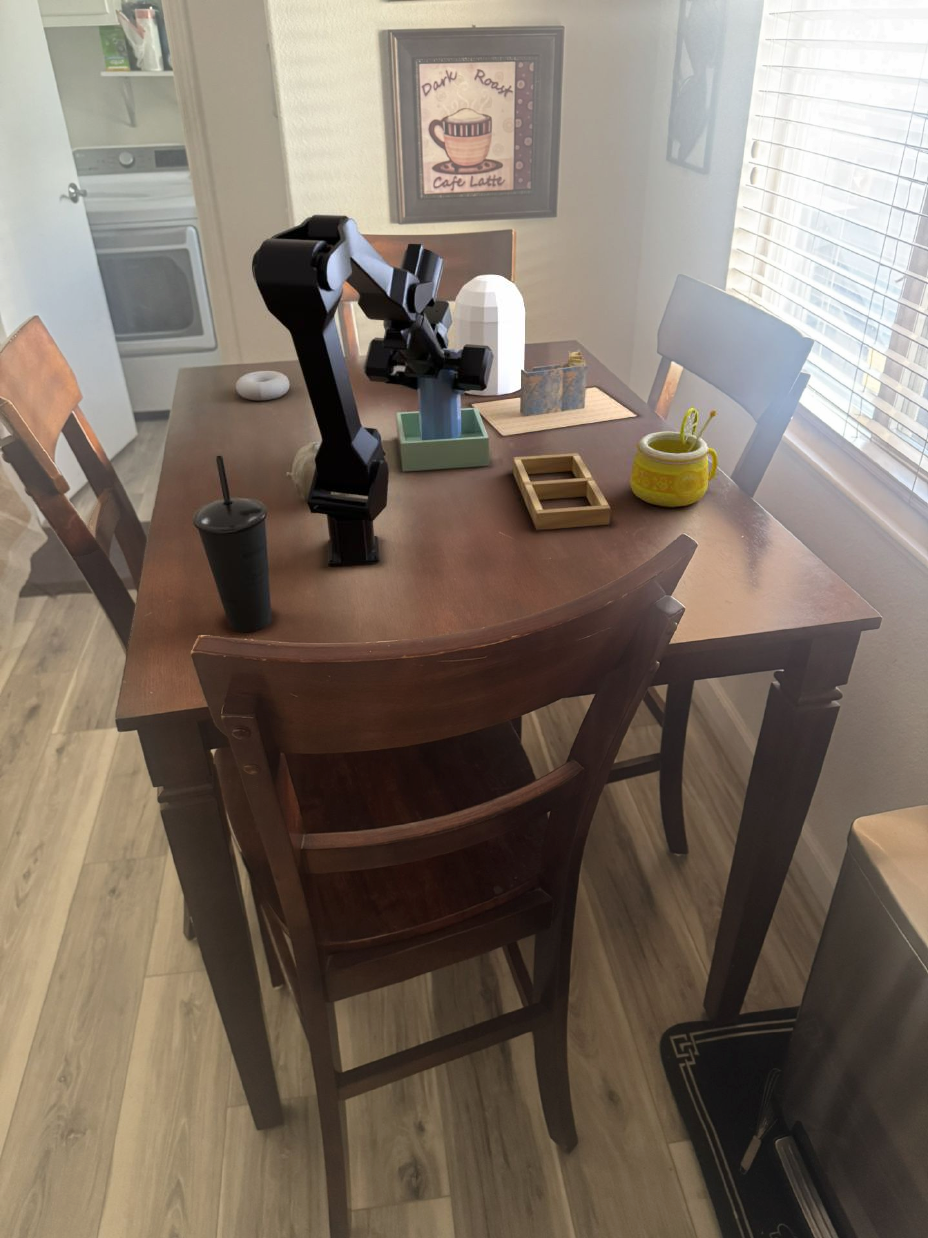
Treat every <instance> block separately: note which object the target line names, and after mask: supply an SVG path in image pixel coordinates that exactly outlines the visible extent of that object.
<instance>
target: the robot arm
mask: <svg viewBox="0 0 928 1238" xmlns="http://www.w3.org/2000/svg"><path fill="white" fill-rule="evenodd" d="M444 264H445V263H444V259H443V258H442V257H441V256H439V255H438V254H437V253H435V252H434V251H432V250H430V249H427V248H425V247H424V245H423V243H414V242H413V243H411V242H410V243H408V244H407V247H406V250H404V251H403V254H402V257H401V261H400V266H399V267H396V266H393V265H391V264H389V263H388V262H387V261H386V260H385V258H384V257H383V256H381V254H380V253H379V252H378V251H377V250H376V249H375V248H374V246H372V244H370V242H369V241H368V240H367V239H366V238H365V236H363V235H362V233H361V232H360V231H359V228H358V225H357V223H356V221H355V219H354V218H350V217H349V216H347V215H341V214H340V215H339V214H313V215H312V216H309V217H307V218H305V219H304V220H303V221H302V222H301V223H300V224H298V225H295V226H293V227H291V228H288V229H286V230H284V231H281V232H278V233H276V234H274V235H272V236H271V237H270V238H266V239H265V240H263V241H262V243H261V244H260V246H259V248H258V249H257V250H256V251H255V253H254V254H253V257H252V261H251V270H252V271H251V273H252V277H253V279H254V282H255V284H256V286H257V289H258V291H259V294H260V296H261V297H262V301H263V303H264V305H265V307H266V310H267V311H268V312H269V313H270V314H271V315H272V316H273V317H274V318H275V319H276V320H277V321H278V322H279V323H280V324H281V325H282V326H283V327H284V328H285V329H286V330H287V331H289V334H290V336H291V340H292V344H293V346H294V350H295V353H296V357H297V361H298V363H299V367H300V370H301V373H302V376H303V380H304V384H305V387H306V391H307V393H308V397H309V400H310V403H311V404H310V405H311V407H312V410H313V413H314V417H315V421H316V424H317V427H318V430H319V433H320V437H321V441H320V442H321V444H320V446H319V449H318V451H317V454H316V456H315V464H316V468H315V472H314V476H313V480H312V484H311V487H310V491H309V495H308V499H307V500H306V504H307V506H308V509H309V512H310V514H315V515H316V514H320V515H326V520H327V521H326V522H327V529H328V537H329V538H328V540H327V566H329V567H339V566H352V565H364V564H377V563H379V562H380V559H381V558H380V549H379V548H380V547H379V537H378V536H377V535H375V528H374V527H375V526H374V521H375V520H376V519H377V518H378V516H379V515H380V514H381V513H382V512H383V511H384V510H385V509H386V507H387V504H388V491H389V474H390V472H389V471H390V469H389V464H388V462H387V461H386V458H385V457H386V455H387V454H386V451H385V450H384V447H383V443H382V436H381V433H380V431H379V430H378V429H377V428H375V427H363V425H362V423H361V418H360V414H359V411H358V406H357V404H356V398H355V394H354V390H353V387H352V383H351V379H350V375H349V370H348V367H347V366H348V365H347V362H346V359H345V354H344V351H343V347H342V343H341V339H340V335H339V331H338V326H337V323H336V318H335V315H336V312H337V309H338V307H339V306H340V305H339V304H340V302H341V299H342V297H343V294H344V287H343V285H344V283H345V282H346V283H348V285H349V286H350V287H351V288H353V289H354V290H355V291H356V292H357V293H358V297H357V306H359V308H360V309H361V311H362V312H363V314H364V316H365V317H366V318H367V319H369V320H371V321H383V322H382V323H383V324H382V325H383V328H384V334H383V337H374V338H373V339H371V340H370V342H369V344H368V348H367V352H366V356H365V360H364V364H363V373H364V375H365V376H366V377H367V379H368V380H369V381H370V382H375V383H384V384H386V385H391V386H396V387H400V388H405V389H409V390H413V391H417V392H418V388H417V377H421V378H433V379H437V377H438V374H439V371H441V369H444V370H454V371H453V372H454V374H455V378H454V382H453V387H452V390H454V391H455V392H457V393H458V394H460V395H461V396H465V391H470V390H476V391H483V390H484V389H486V388H487V384H488V380H489V375H490V371H491V366H492V362H493V357H494V355H493V353H492V350H491V349H490V347H489V346H485V345H471V344H466V345H465V346H464V347H463V349H461V350H459V351H458V352H457V353H448V352H444V349H449V343H450V341H449V338H448V336H447V335H448V332H449V330H450V328H451V326H452V324H453V316H452V312H451V307H450V303H449V302H448V301H446V300H436V299H437V294H438V290H439V286H440V282H441V279H442V274H443V269H444ZM331 492H337V493H345V494H348V495H353V496H348V495H346V496H340V495H332V494H331ZM354 496H355V497H354ZM356 496H360V497H356ZM362 497H367V498H362Z"/></svg>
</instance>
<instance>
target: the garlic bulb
mask: <svg viewBox="0 0 928 1238" xmlns="http://www.w3.org/2000/svg"><path fill="white" fill-rule="evenodd" d="M321 442H322V441H312V442H310V443H308V444H306V445H304V446H303V447H301V448H300V449H299V450H298V451H297V453H296V454H295V457H294V460H293V463H292V470H291V472H290V471H287V472H286V477H287V478H288V479H289V480H292V481H293V484H294V485H295V486H294V487H295V490H296V492H297V493H299V494H300V496H301V498H302V499H303V500H305V501H307V499H308V495H309V491H310V487H311V484H312V480H313V476H314V472H315V468H316V464H315V456H316V454H317V451H318V449H319V446H320V444H321ZM331 494H332V495H340V496H348V495H349V494H345V493H337V492H331Z"/></svg>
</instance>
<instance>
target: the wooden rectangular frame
mask: <svg viewBox="0 0 928 1238" xmlns="http://www.w3.org/2000/svg"><path fill="white" fill-rule="evenodd" d="M564 472H572V473H573V475H574V477H575V478H566V479H565V478H564V479H549V480H537V481H531V480H530V477H529V475H536V474H548V473H564ZM512 474H513V476H514V479H515V481H516V484H517V487H518V489H519V492H520V494H521V496H522V498H523V500H524V504H525V505H526V508H527V510H528V513H529V515H530V517H531V520H532V522H533V524H534V527H535V530H536V531H542V530H543V531H544V530H554V529H556V530H557V529H567V528H580V527H581V528H582V527H594V526H606V525H610V521H611V506H610V505H609V503H608V501H607V500H606V498H605V495H603V493H602V491H601V489H600V488H599V486H598V485H597V482H596V481H595V480H594V478H593V476H592V474H591V473H590V471H589V470H588V468H587V466H586V464H585V462H584V461H583V460H582V457H581V456H580V454H579V453H578V452H572V453H571V452H570V453H559V454H544V455H543V454H542V455H527V456H515V457H514V456H513V457H512ZM582 497H584V498H585V497H586V499H587V500H588V502H589V504H590V505H587V506H574V507H565V508H564V507H561V508H547V509H543V506H542V504H541V502H540V501H541V500H553V499H554V500H555V499H567V498H569V499H570V498H582Z"/></svg>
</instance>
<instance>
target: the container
mask: <svg viewBox="0 0 928 1238" xmlns="http://www.w3.org/2000/svg"><path fill="white" fill-rule="evenodd" d="M525 318H526V311H525V305H524V299H523V296H522V294H521V293H520V291H519V290H518V288H517V286H516V285H515V283H513V282H512V281H510V280H509V279H507V278H505V277H504V276H502V275H497V274H480V275H477V276H475V277H473V278H472V279H470V280H469V281H467V282H466V283H465V284H464V285H463V286H462V287H461V289H460V290H459V292H458V294H457V295H456V296H455V301H454V308H453V311H452V324H453V350H455V351H457V352H458V351H459V350H461V349H463V347H464V346H465V345H466V344H471V345H485V346H489V347H490V349H491V350H492V353H493V355H494V357H493V362H492V366H491V371H490V375H489V380H488V384H487V388H486V389H484V390H483V391H476V390H470V391H465V393H466V394H468V395H474V396H483V397H484V396H501V395H507V394H512V393H514V392H517V391H520V390H521V369H523V370H525V327H526V326H525V322H526V321H525V320H526V319H525ZM465 393H464V394H465Z"/></svg>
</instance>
